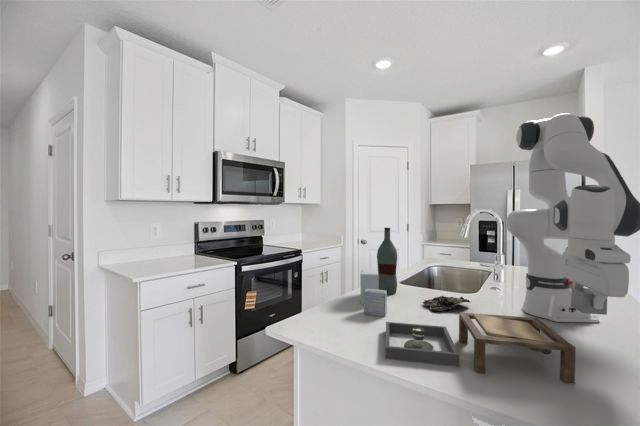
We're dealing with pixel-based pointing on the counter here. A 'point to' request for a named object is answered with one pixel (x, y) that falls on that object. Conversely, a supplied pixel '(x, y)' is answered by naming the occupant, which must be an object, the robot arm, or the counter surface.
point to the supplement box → (368, 282)
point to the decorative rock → (444, 303)
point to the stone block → (586, 301)
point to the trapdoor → (510, 329)
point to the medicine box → (375, 302)
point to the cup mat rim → (421, 354)
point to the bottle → (387, 264)
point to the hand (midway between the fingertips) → (588, 303)
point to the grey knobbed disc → (418, 340)
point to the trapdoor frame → (518, 343)
